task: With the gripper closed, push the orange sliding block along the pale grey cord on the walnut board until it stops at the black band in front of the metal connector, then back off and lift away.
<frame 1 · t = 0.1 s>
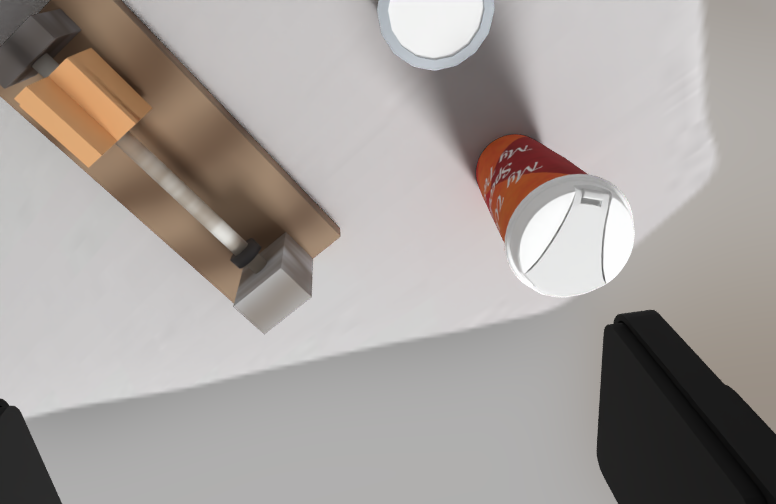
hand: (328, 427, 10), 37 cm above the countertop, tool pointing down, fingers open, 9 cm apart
orange sliding block: (81, 112, 38), point 6 cm above the countertop, slide at 0.0 cm
cord board: (178, 156, 45), on the countertop
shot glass: (419, 1, 43), on the countertop
paper cup: (510, 169, 48), on the countertop
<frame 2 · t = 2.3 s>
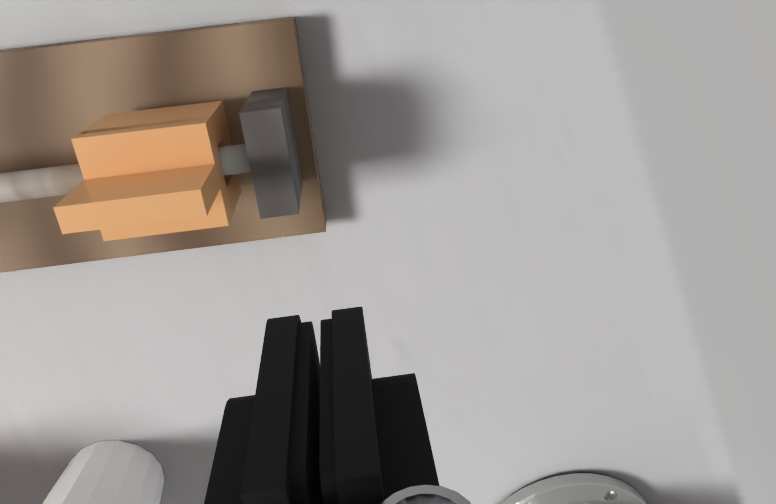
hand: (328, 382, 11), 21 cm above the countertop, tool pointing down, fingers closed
orange sliding block: (156, 179, 25), point 6 cm above the countertop, slide at 0.0 cm
cord board: (61, 155, 30), on the countertop
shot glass: (117, 473, 39), on the countertop
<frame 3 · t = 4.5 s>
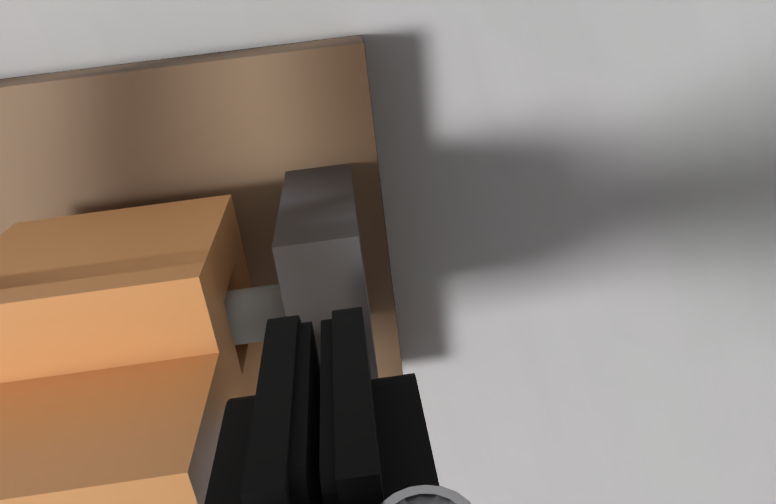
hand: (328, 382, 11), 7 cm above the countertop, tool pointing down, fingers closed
orange sliding block: (102, 374, 12), point 6 cm above the countertop, slide at 0.1 cm, touching gripper
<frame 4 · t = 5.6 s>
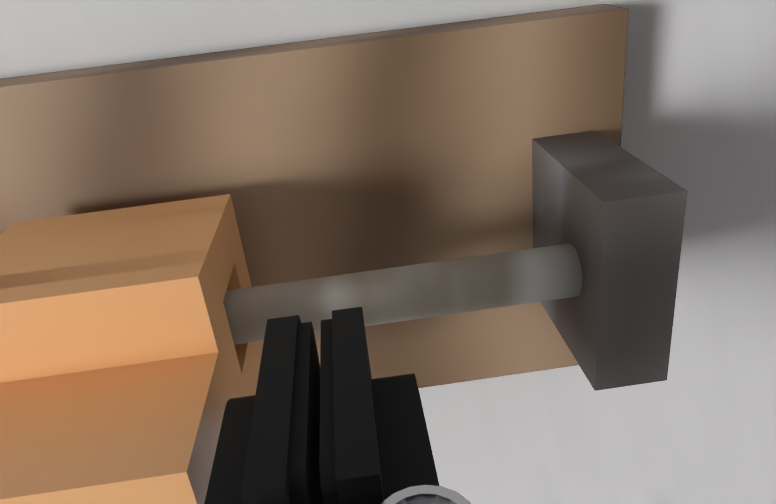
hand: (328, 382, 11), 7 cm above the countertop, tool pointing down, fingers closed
orange sliding block: (101, 373, 12), point 6 cm above the countertop, slide at 6.3 cm, touching gripper
cord board: (179, 244, 18), on the countertop
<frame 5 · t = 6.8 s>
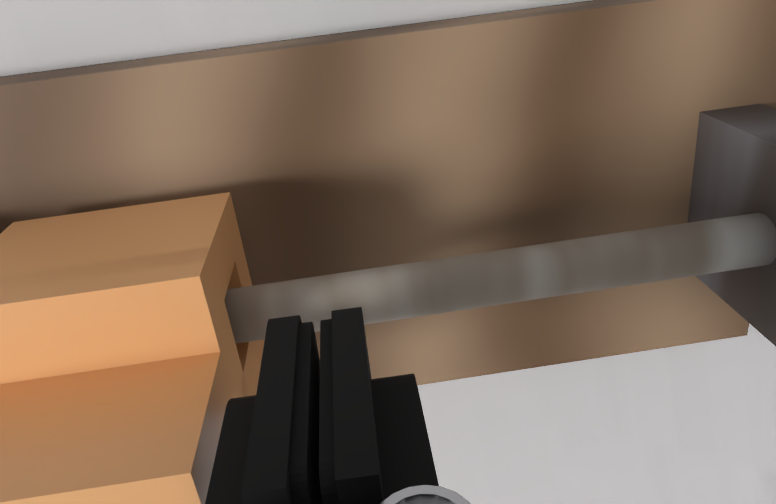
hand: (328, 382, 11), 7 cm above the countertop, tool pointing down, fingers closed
orange sliding block: (102, 373, 12), point 6 cm above the countertop, slide at 10.6 cm, touching cord board, gripper
cord board: (331, 221, 18), on the countertop
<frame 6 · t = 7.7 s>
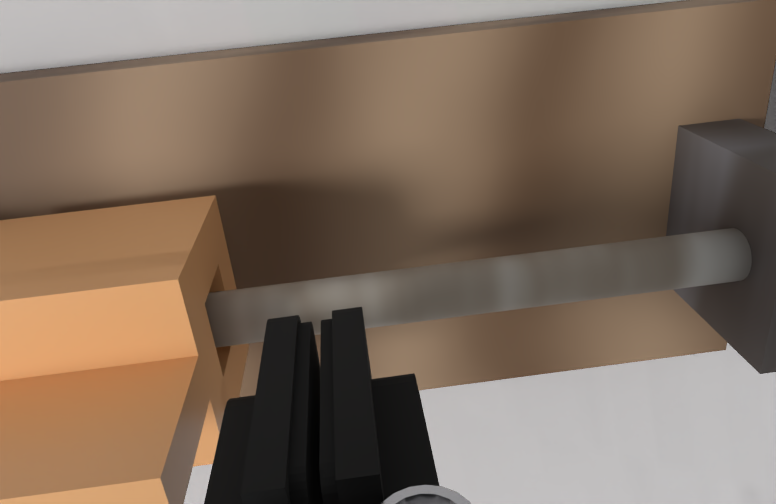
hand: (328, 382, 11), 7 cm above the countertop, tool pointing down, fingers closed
orange sliding block: (80, 375, 12), point 6 cm above the countertop, slide at 10.3 cm
cord board: (309, 227, 18), on the countertop
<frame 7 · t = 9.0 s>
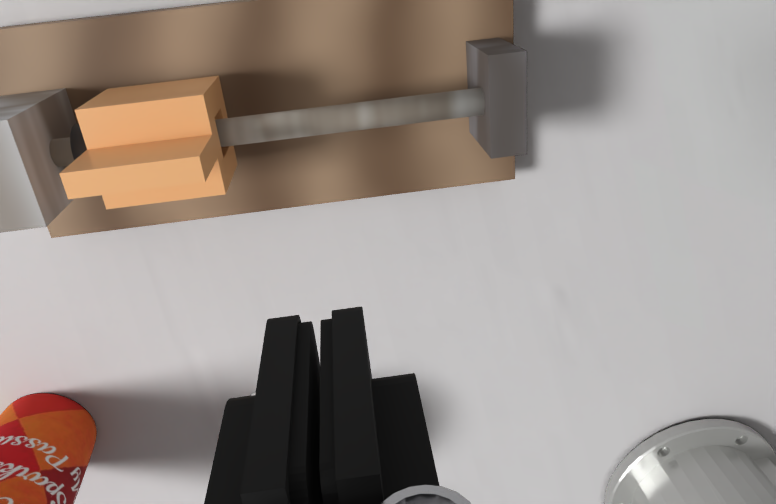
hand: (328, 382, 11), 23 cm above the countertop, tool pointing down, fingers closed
orange sliding block: (156, 149, 26), point 6 cm above the countertop, slide at 10.3 cm
cord board: (271, 105, 32), on the countertop
paper cup: (50, 426, 39), on the countertop
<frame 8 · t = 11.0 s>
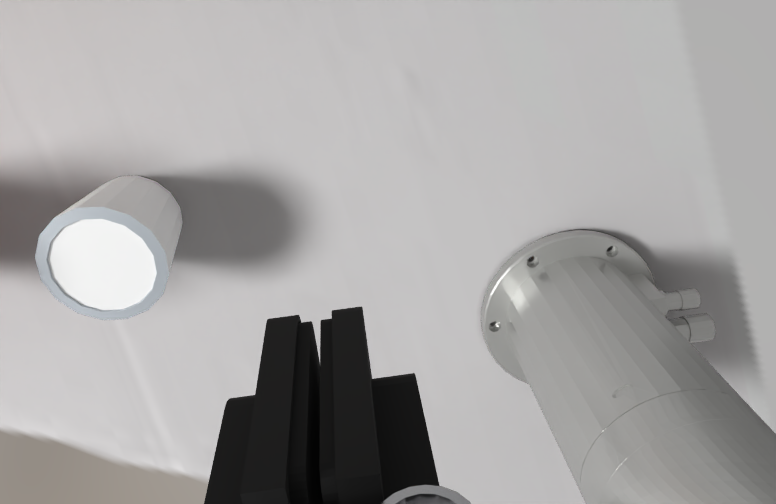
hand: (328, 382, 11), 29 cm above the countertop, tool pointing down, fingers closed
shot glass: (138, 216, 40), on the countertop
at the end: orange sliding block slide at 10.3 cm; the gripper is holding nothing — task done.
